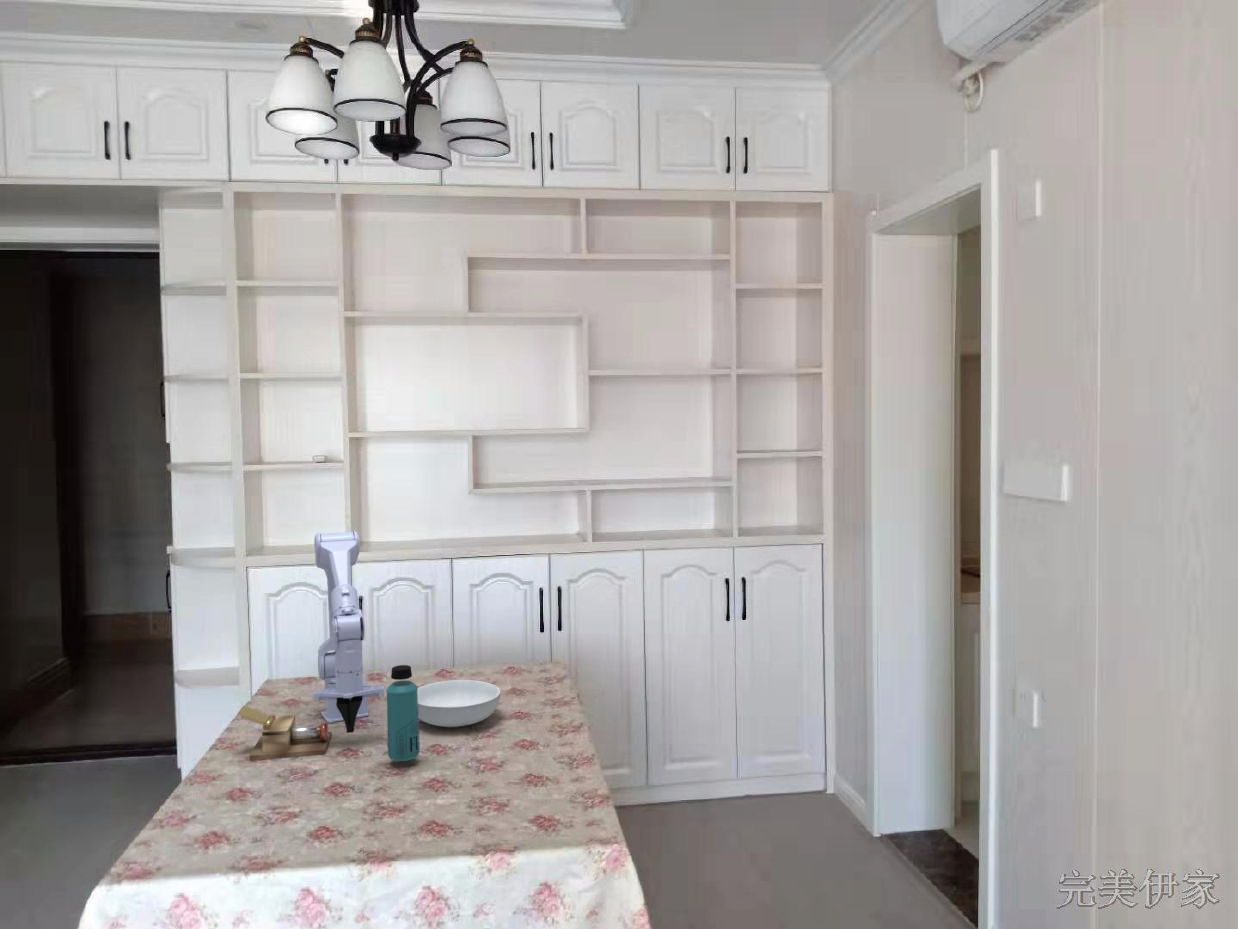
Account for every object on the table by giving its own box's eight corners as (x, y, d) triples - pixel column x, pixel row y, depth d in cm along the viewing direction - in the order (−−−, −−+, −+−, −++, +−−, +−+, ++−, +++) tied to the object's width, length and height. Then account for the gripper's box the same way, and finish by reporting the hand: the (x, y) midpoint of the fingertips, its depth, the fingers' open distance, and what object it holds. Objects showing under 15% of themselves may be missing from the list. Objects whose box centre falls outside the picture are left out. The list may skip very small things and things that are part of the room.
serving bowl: (493, 737, 191) (492, 706, 191) (399, 737, 192) (398, 707, 192) (507, 706, 212) (506, 678, 212) (422, 706, 213) (422, 679, 212)
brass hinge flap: (272, 721, 187) (274, 717, 187) (268, 728, 183) (270, 723, 183) (241, 708, 186) (243, 704, 186) (236, 715, 181) (238, 711, 181)
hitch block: (331, 736, 193) (331, 707, 193) (325, 754, 182) (324, 724, 182) (260, 741, 190) (259, 712, 190) (249, 760, 179) (248, 729, 179)
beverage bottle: (412, 770, 174) (409, 672, 173) (381, 767, 175) (379, 670, 174) (425, 757, 180) (423, 663, 179) (396, 755, 181) (393, 661, 180)
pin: (328, 737, 189) (328, 719, 189) (326, 743, 185) (325, 725, 185) (279, 740, 187) (279, 723, 187) (276, 747, 184) (275, 729, 183)
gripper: (311, 677, 182) (313, 740, 183) (382, 672, 185) (383, 734, 186) (316, 667, 189) (317, 728, 190) (384, 663, 192) (385, 723, 193)
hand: (350, 731), depth 188 cm, fingers closed
